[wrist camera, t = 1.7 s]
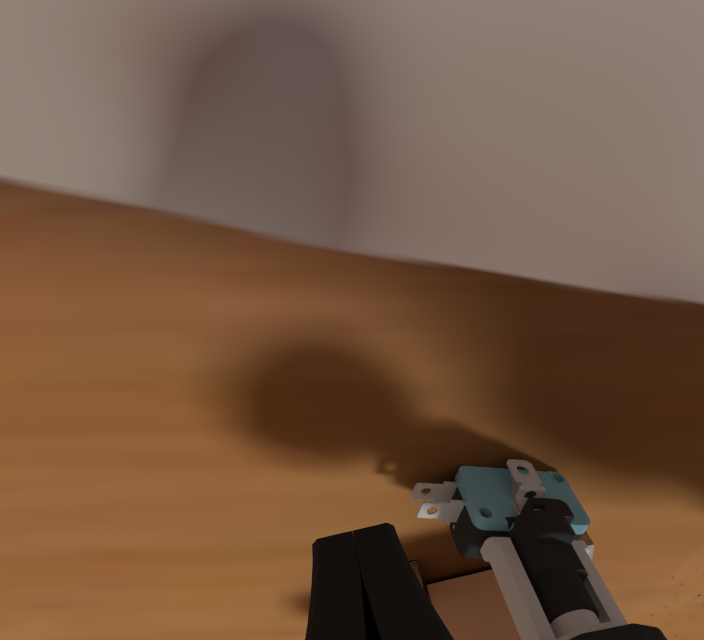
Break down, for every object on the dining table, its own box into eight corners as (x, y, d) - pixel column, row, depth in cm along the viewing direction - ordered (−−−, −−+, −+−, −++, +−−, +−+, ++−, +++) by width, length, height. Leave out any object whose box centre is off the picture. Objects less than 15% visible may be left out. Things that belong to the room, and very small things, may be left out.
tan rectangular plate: (556, 553, 27) (608, 652, 24) (556, 564, 28) (606, 663, 24) (426, 584, 27) (457, 690, 23) (428, 595, 28) (458, 700, 24)
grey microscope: (390, 524, 25) (470, 823, 17) (431, 424, 22) (550, 718, 14) (534, 531, 27) (672, 803, 18) (588, 439, 24) (775, 707, 16)
